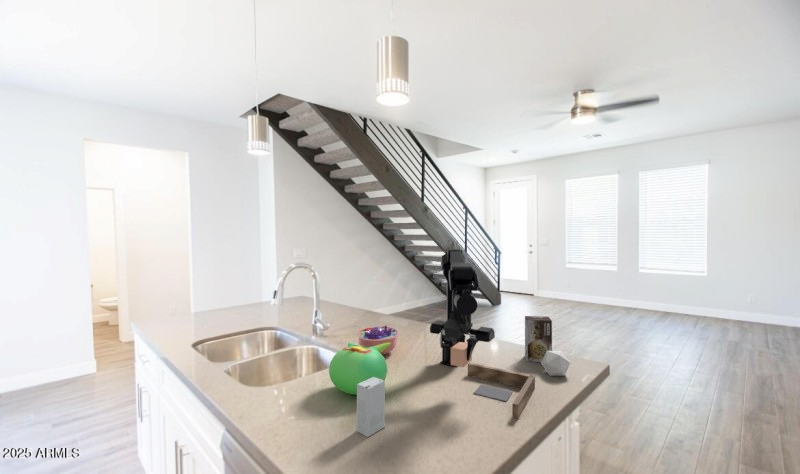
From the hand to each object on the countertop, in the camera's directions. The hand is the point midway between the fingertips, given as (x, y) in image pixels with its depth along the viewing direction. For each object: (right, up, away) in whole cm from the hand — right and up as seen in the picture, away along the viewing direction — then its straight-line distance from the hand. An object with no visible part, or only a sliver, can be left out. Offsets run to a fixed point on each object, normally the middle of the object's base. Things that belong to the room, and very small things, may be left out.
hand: (461, 358), depth 110 cm
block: (0, -1, 0) cm, 1 cm away
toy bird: (-31, -11, +3) cm, 33 cm away
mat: (+10, -11, +1) cm, 15 cm away
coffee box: (+35, -11, +31) cm, 48 cm away
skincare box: (-26, -12, -19) cm, 34 cm away
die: (+35, -11, +16) cm, 40 cm away
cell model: (-27, -10, +38) cm, 48 cm away
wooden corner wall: (+9, -11, +1) cm, 14 cm away
